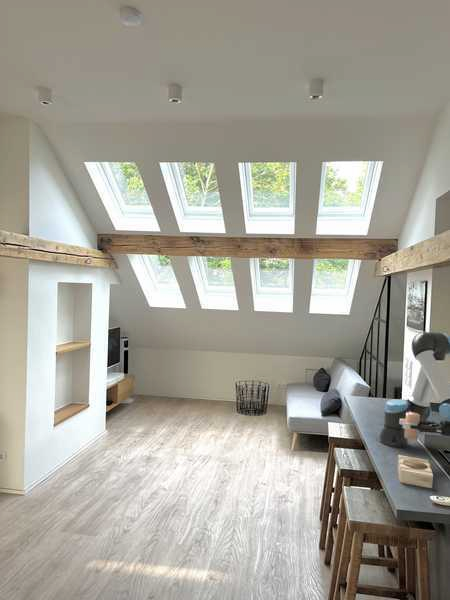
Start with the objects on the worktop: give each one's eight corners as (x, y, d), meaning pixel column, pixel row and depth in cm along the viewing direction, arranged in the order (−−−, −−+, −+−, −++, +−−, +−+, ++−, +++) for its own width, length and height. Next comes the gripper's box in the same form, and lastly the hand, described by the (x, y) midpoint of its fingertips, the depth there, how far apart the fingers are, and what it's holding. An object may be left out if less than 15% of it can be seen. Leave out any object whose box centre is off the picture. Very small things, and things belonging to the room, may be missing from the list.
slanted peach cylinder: (409, 434, 236) (411, 411, 235) (420, 438, 230) (422, 415, 230) (401, 436, 232) (403, 412, 232) (412, 440, 227) (414, 416, 227)
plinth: (397, 466, 221) (398, 454, 221) (427, 471, 217) (428, 458, 217) (399, 482, 202) (400, 468, 202) (431, 488, 198) (433, 474, 198)
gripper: (456, 442, 219) (405, 436, 222) (442, 430, 238) (396, 425, 242) (457, 426, 219) (406, 421, 222) (444, 415, 238) (397, 410, 241)
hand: (401, 423), depth 232 cm, fingers closed on slanted peach cylinder, 6 cm apart
